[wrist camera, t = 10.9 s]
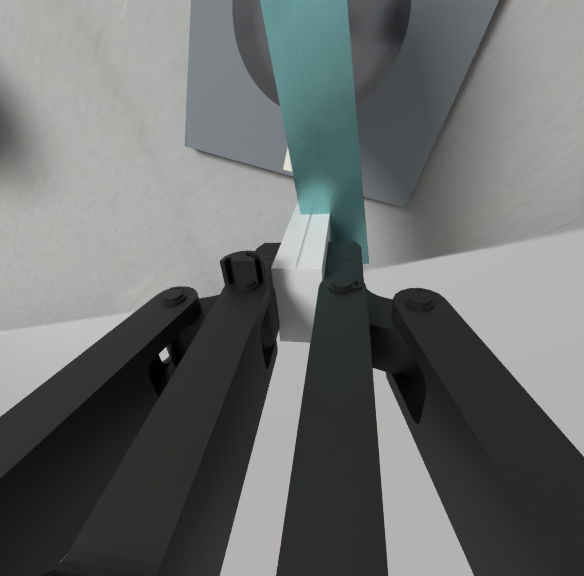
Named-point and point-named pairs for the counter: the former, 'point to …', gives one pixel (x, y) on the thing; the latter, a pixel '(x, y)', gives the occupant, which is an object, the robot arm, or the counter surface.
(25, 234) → the counter surface
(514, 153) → the counter surface
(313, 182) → the teal board with collar
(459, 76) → the post base
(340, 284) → the robot arm
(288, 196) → the counter surface
